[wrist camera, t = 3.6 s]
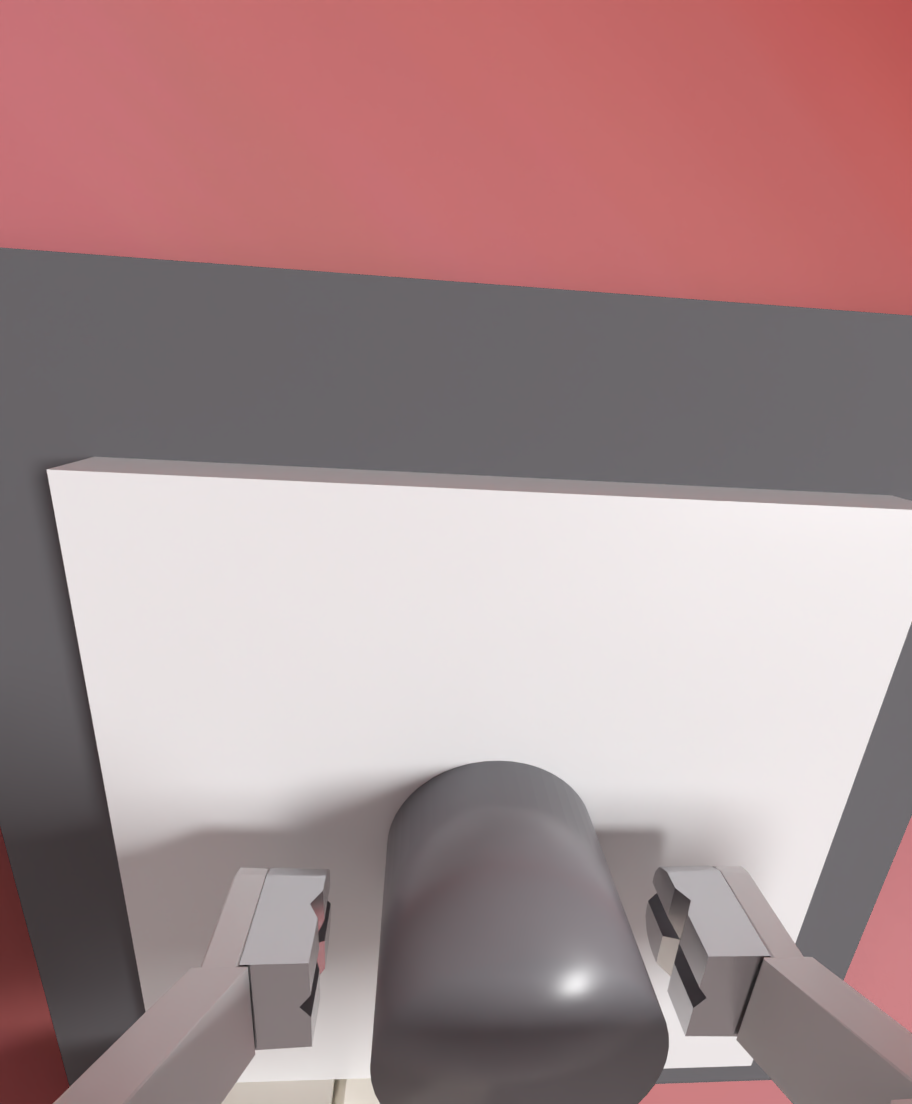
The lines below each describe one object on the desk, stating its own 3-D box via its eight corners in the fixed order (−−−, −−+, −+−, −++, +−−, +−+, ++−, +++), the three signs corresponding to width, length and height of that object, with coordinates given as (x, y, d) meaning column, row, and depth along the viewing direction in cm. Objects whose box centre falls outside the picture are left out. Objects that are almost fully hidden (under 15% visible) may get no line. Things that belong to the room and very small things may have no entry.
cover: (94, 456, 9) (-234, 544, 4) (891, 495, 10) (1269, 598, 5) (181, 1024, 13) (60, 1351, 9) (725, 1010, 14) (859, 1297, 10)
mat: (-130, 242, 8) (-158, 235, 8) (1085, 332, 10) (1112, 330, 9) (83, 1084, 14) (74, 1104, 14) (793, 1061, 16) (802, 1078, 16)
